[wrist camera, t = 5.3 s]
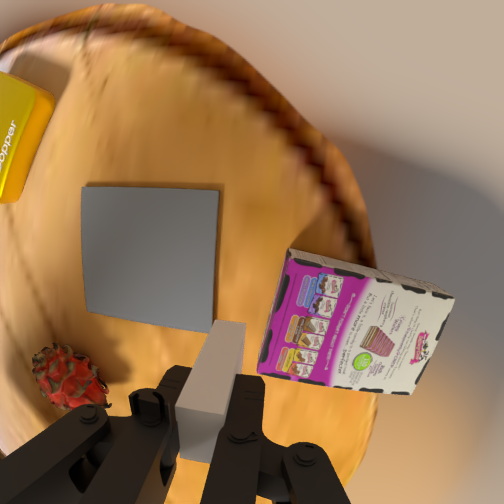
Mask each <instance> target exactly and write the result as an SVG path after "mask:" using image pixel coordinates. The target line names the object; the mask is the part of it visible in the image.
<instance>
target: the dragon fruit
mask: <svg viewBox="0 0 504 504" xmlns="http://www.w3.org/2000/svg"><path fill="white" fill-rule="evenodd" d="M52 344H54V348H48V347H45V348H43V349H42V350H41V353H40V352H39V354H37V355H36V354H34V355H35V356H34V357H32V361H33V366H34V367H35V368H34V369H33V370H32V372H33V374H34V376H35V377H36V381H37V383H40V391H41V393H42V395H43V396H44V397H46V395H45V394H47V395H48V396H49V398H50V402H51V403H52V404H55V405H56V407H58V408H59V409H62V410H66V409H68V410H69V411H72V410H73V409H74V408H76V407H78V406H80V405H83V404H96V405H99V406H101V407H102V408H103V409H106V408H110V407H111V406H112V403H110V404H109V405H108V403H107V400H106V395H105V394H108V393H109V389H108V387H107V385H106V384H105V381H104V380H103V379H102V378H101V377H99V376H98V377H99V381H100V382H101V383H102V384H103V385H104V386H105V389H103V388H104V387H103V386H101V385H100V384H99V382H98V381H97V379H96V377H97V375H98V373H99V372H98V370H99V368H98V367H96V366H94V365H91V366H92V370H89V369H88V366H87V364H88V362H89V361H90V359H89V358H88V357H87V356H86V355H82V354H78V355H75V353H73V351H72V349H71V347H70V346H68V345H67V344H66V345H64V346H63V347H62V348H65V347H67V348H68V351H67V353H63V351H62V349H61V347H60V346H59V345H58V344H57V343H52ZM77 358H85V359H84V360H79V359H77ZM100 379H101V380H100ZM104 393H105V394H104ZM46 398H47V397H46Z"/></svg>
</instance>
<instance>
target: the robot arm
mask: <svg viewBox="0 0 504 504" xmlns="http://www.w3.org/2000/svg"><path fill="white" fill-rule="evenodd" d="M245 329H246V323H240V322H232V321H224V320H216V319H215V321H214V323H213V325H212V328H211V330H210V332H209V334H208V336H207V338H206V340H205V343H204V345H203V347H202V349H201V351H200V353H199V355H198V357H197V360H196V362H195V364H194V366H193V368H190V367H184V366H179V365H175V366H173V367H171V368H170V369H168V370H167V371H166V373H165V375H164V376H163V378H162V380H161V381H160V383H159V386H157V388H156V389H151V388H144V389H138V390H136V391H134V392H132V393H131V394H130V395H129V402H130V407H131V412H132V415H131V416H128V417H118V416H108V415H107V412H106V410H105V409H103V408H102V407H101V406H99V405H96V404H83V405H80V406H78V407H76V408H74V409H73V410H72V411H70V412H69V413H67V414H66V415H65V416H63V417H62V418H61V419H59V420H58V421H56V422H55V423H54V424H52V425H51V426H49V427H48V428H47V429H45V430H44V431H42V432H41V433H39V434H38V435H37V436H35V437H34V438H32V439H31V440H30V441H28V442H27V443H25V444H24V445H22V446H21V447H20V448H18V449H17V450H15V451H14V452H12V453H11V454H9V455H8V456H6V455H5V454H4V453H3V452H2V450H1V449H0V504H164V502H165V499H166V496H167V493H168V490H169V488H170V485H171V482H172V479H173V477H174V474H175V471H176V465H177V463H176V457H177V455H178V452H180V458H184V459H189V460H194V461H199V462H204V463H210V468H209V471H208V475H207V479H206V483H205V487H204V490H203V494H202V498H201V502H200V504H255V502H256V495H258V496H261V497H264V498H267V499H270V500H272V504H351V503H350V501H349V499H348V497H347V495H346V493H345V491H344V488H343V486H342V484H341V482H340V480H339V478H338V476H337V474H336V472H335V470H334V468H333V466H332V464H331V462H330V460H329V457H328V455H327V453H326V452H325V451H324V450H323V448H321V447H319V446H318V445H316V444H313V443H309V442H298V443H295V444H292V445H290V446H289V447H284V446H281V445H278V444H276V443H273V442H272V441H270V440H269V439H268V438H267V437H266V436H265V435H264V433H263V431H262V420H263V408H264V396H265V383H264V381H263V379H262V378H261V376H252V375H243V374H241V372H242V364H243V352H244V340H245Z"/></svg>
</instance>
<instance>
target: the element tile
mask: <svg viewBox="0 0 504 504" xmlns="http://www.w3.org/2000/svg"><path fill="white" fill-rule="evenodd" d="M54 107H55V98H54V96H53V94H52V93H50V92H48V91H46V90H44V89H42V88H40V87H38V86H36V85H34V84H32V83H30V82H27V81H25V80H23V79H21V78H19V77H17V76H15V75H12V74H9V73H5V72H2V71H0V204H6V203H14V202H16V201H18V199H19V198H20V196H21V194H22V191H23V188H24V185H25V181H26V178H27V175H28V173H29V170H30V167H31V164H32V161H33V159H34V156H35V153H36V151H37V148H38V146H39V143H40V141H41V138H42V136H43V134H44V131H45V129H46V127H47V125H48V122H49V120H50V118H51V116H52V114H53V111H54Z"/></svg>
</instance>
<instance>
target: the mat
mask: <svg viewBox="0 0 504 504" xmlns="http://www.w3.org/2000/svg"><path fill="white" fill-rule="evenodd" d="M219 193H220V191H216V190H199V189H178V188H149V187H82V192H81V241H82V263H83V277H84V288H85V298H86V307H87V311H88V312H93V313H97V314H102V315H106V316H111V317H116V318H121V319H126V320H131V321H136V322H141V323H146V324H152V325H158V326H163V327H169V328H175V329H182V330H188V331H195V332H202V333H209V332H210V330H211V328H212V325H213V306H214V281H215V260H216V241H217V224H218V208H219Z"/></svg>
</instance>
